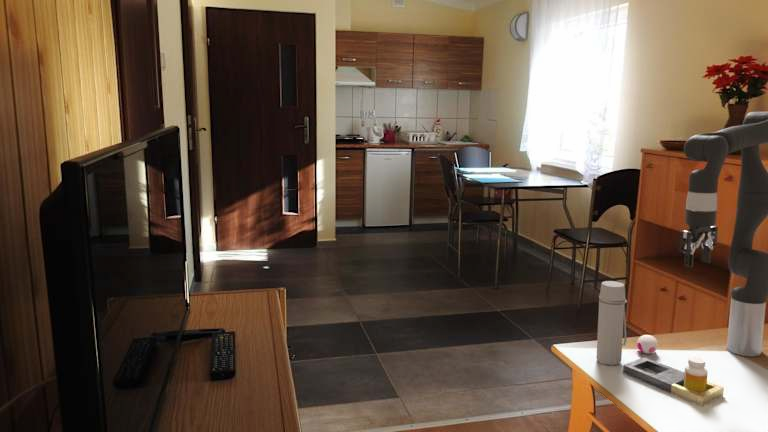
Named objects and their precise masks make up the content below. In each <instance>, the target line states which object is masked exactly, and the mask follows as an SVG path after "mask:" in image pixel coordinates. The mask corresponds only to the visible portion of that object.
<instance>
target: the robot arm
mask: <svg viewBox="0 0 768 432" xmlns="http://www.w3.org/2000/svg"><path fill="white" fill-rule="evenodd" d="M762 144H768V111H767V110H766V111H751V112H748V113H747V114H746V115H745V117H744V118H743V122H742V124H741V125H740V124H739V125H734V126H730V127H726V128H723V129H720V130H718V131H712V132H707V133H706V132H705V133H699V134H695V135H692V136H690V137H689V138H688V139H687V140H686V142H684V145H683V153H684V155H685V158H687V159H689V160H690V161H693V162H706V165H705V166H704V168H703V169H695V170H693V171H691V172H690V173H689V177H688V191H687V196H686V204H685V216H684V223H685V225H687V226H688V230H681V232H680V239H679V248H678V251H679V252H680V253H683V254H684V257H683V266H684V268H693V267H694V257H695V255H694V253H695V251H696V249H698V248H699V247H700V245H701V248H702V249H701V256H700V257H701V259H700V260H701V262H702V263H704V264H705V263H706V264H709V263H711V258H712V256H711V255H712V251H713V250H714V248H716V247H717V246H718V226H716V223H717V214H718V202H719V201H718V188H719V187H718V186H719V177H720V174H721V172H722V169H723V166H724V163H725V162H726V159H727V156H728V155H729V154H731V153H735V152H737V151H741V157H740V159H741V161H740V164H741V165H740V173H739V183H738V189H737V190H738V191H737V199H736V200H737V201H736V202H737V203H736V212H735V213H736V214H735V222H734V228H733V235H732V238H731V239H732V240H731V243H730V247H729V253H728V257H727V264H728V265H727V267H728V269H729V271H730V272H731V273H732V274H733V275H736V276H739V277H741V278H745V279H746V281H745V285H744V286H736V287H734V288H732V290H731V296H730V297H731V298H730V308H729V320H728V329H727V339H726V349H727V351H729V352H730V353H732V354H735V355H738V356H743V357H749V358H750V357H752V358H754V357H759V356H761V355H762V347H763V337H764V336H763V335H764V325H765V319H766V318H765V315H766V307H767V306H766V304H767V299H768V252H766V251H762V250H759V249H754V248H753V243H754V238H755V237H754V236H755V233H756V232H757V230H758V228H760V225H762V223H763V222H764V221H765V220H766V218H767V217H768V171H767V168H766V167H765V166H764V163H763V161H762V159H761V156H760V154H761V151H760V145H762Z"/></svg>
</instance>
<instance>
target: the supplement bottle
mask: <svg viewBox="0 0 768 432" xmlns="http://www.w3.org/2000/svg"><path fill="white" fill-rule="evenodd" d="M687 362H688V364H687V365H686V366H685V367H684V373H685V374H684V387H685V388H687V389H690V390H692V391H695V392H697V393H699V394H701V393H703V392H705V391H706V385H707V381H708V369H707V368H706V361H705V359H703V358H701V357H696V356H695V357H693V356H690V357H689V358H688V360H687Z"/></svg>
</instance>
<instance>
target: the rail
mask: <svg viewBox="0 0 768 432" xmlns="http://www.w3.org/2000/svg"><path fill="white" fill-rule="evenodd" d="M645 370H650V371H653V372H654V373H657V374H652V373H649V372H647V371H645ZM622 374H625V375H627V376H629V377H631V378H634V379H637V380H638V381H641V382H643V383H645V384H648V385H650V386H652V387H655V388H657V389H659V390H662V391H664V392H667V393H669V394H671V395H674V396H676V397H677V398H678V397H679V398H681V399H683V400H685V401H688V402H690V403H692V404H694V405H697V406H700V407H704V406H706V405H708V404H710V403H713V402H715V401H716V400H718V399H721V398H722V397H724V389H725V387H724V386H721V385H718V384H716V383H712V382H710V381H708V380H707V385H706V391H705V392H703V393H701V394H699V393H697V392H695V391H692V390H690V389H687V388H685V387H684V374H685V371H681V370H679V369H677V368H673V367H671V366H668V365H666V364H663V363H660V362H658V361H657V360H656V361H655V360H652V359H650V358H648V357H642V358H639V359H636V360H633V361H630V362H628V363H625V364H623V365H622Z"/></svg>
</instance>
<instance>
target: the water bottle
mask: <svg viewBox="0 0 768 432" xmlns="http://www.w3.org/2000/svg"><path fill="white" fill-rule="evenodd" d="M625 286H626V284H624V283H623V282H621V281H615V280H605V281H602V282H601V283H600V291H599V295H598V299H599V300H598V317H597V319H598V320H597V339H596V340H597V341H596V360H597V361H598V362H599V363H600V364H603V365H606V366H617V365H620V364H621V362H622V353H623V346H626V343H627V321H626V319H627V318H626V304H627V302H628V300H627V299H626V287H625ZM623 334H624V335H623ZM623 337H624V339H623Z"/></svg>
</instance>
